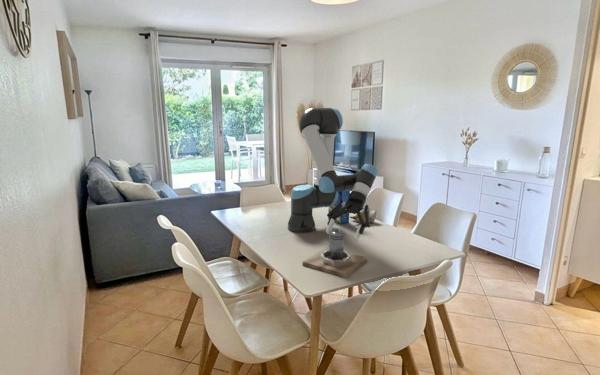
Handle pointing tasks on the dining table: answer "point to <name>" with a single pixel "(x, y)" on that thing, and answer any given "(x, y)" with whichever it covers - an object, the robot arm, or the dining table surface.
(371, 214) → the ceramic sculpture
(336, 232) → the cylinder
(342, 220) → the blue food package
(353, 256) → the walnut board
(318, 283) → the dining table surface
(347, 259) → the steel ring
